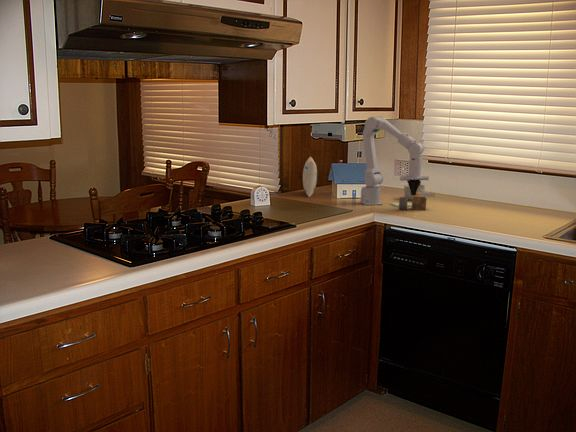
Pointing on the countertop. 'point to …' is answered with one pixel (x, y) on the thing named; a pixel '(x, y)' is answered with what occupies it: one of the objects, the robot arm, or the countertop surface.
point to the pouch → (309, 176)
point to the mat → (398, 204)
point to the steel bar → (424, 194)
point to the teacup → (408, 192)
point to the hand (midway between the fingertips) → (413, 195)
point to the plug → (403, 203)
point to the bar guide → (419, 203)
